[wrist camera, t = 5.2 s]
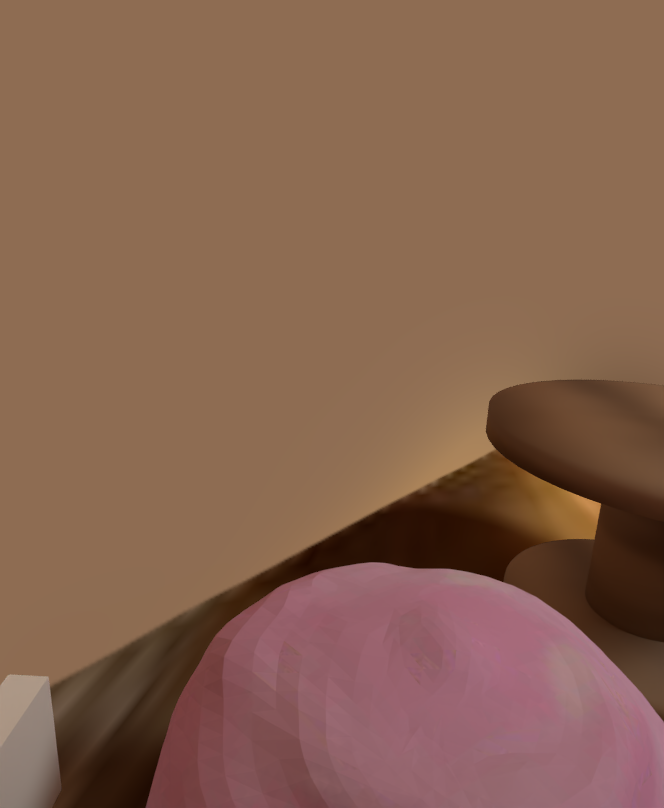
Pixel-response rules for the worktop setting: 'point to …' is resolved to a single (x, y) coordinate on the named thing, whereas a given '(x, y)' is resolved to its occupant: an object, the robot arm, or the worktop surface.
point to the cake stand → (618, 520)
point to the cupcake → (407, 703)
